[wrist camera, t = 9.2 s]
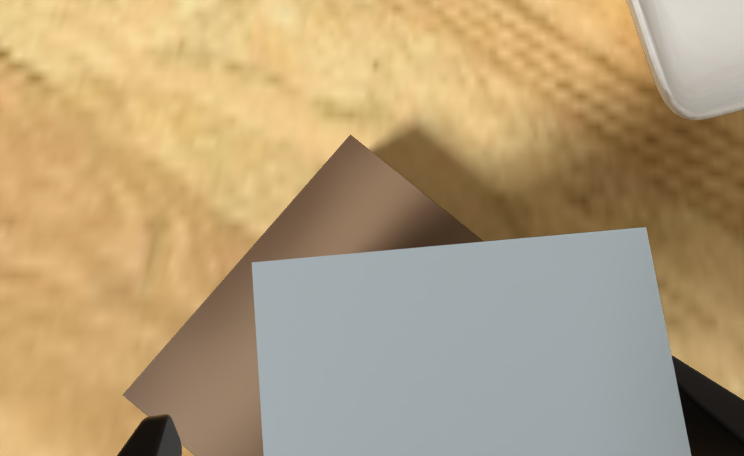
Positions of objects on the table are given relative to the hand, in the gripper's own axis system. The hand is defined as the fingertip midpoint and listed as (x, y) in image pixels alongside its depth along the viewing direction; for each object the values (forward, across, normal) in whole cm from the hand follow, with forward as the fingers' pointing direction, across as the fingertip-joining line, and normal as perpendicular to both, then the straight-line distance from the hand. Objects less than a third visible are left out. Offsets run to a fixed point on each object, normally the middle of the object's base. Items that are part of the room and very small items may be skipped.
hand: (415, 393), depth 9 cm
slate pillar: (+6, 0, +6) cm, 8 cm away
